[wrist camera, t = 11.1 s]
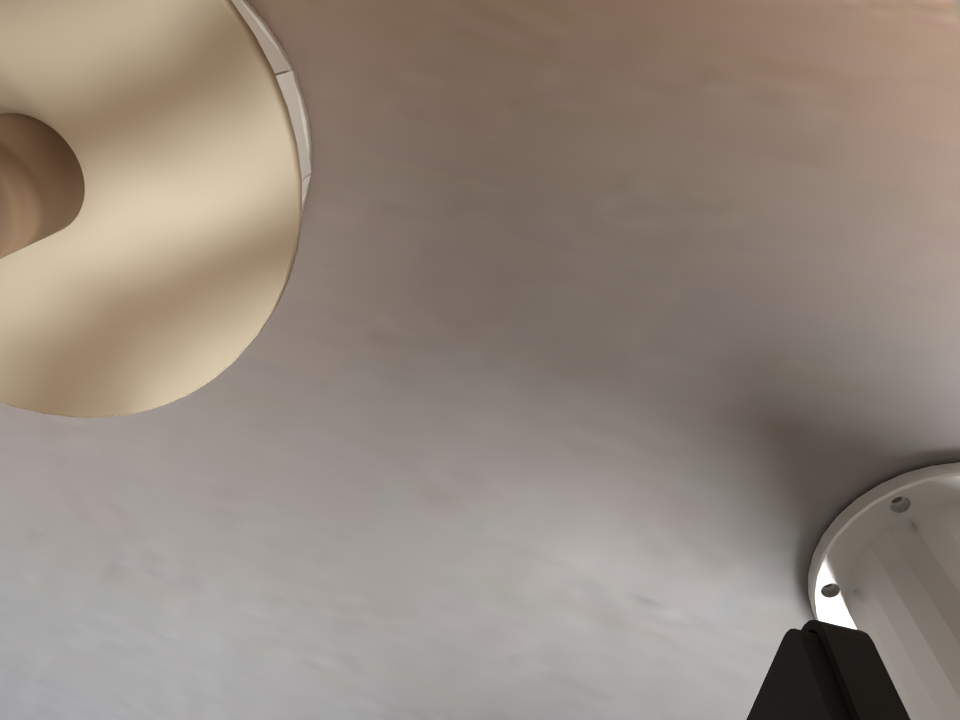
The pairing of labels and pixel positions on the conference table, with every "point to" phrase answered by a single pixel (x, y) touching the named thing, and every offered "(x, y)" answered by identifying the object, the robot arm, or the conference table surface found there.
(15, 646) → the conference table surface
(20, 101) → the lid
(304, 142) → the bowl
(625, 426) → the conference table surface
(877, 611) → the robot arm
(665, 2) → the conference table surface
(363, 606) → the conference table surface
